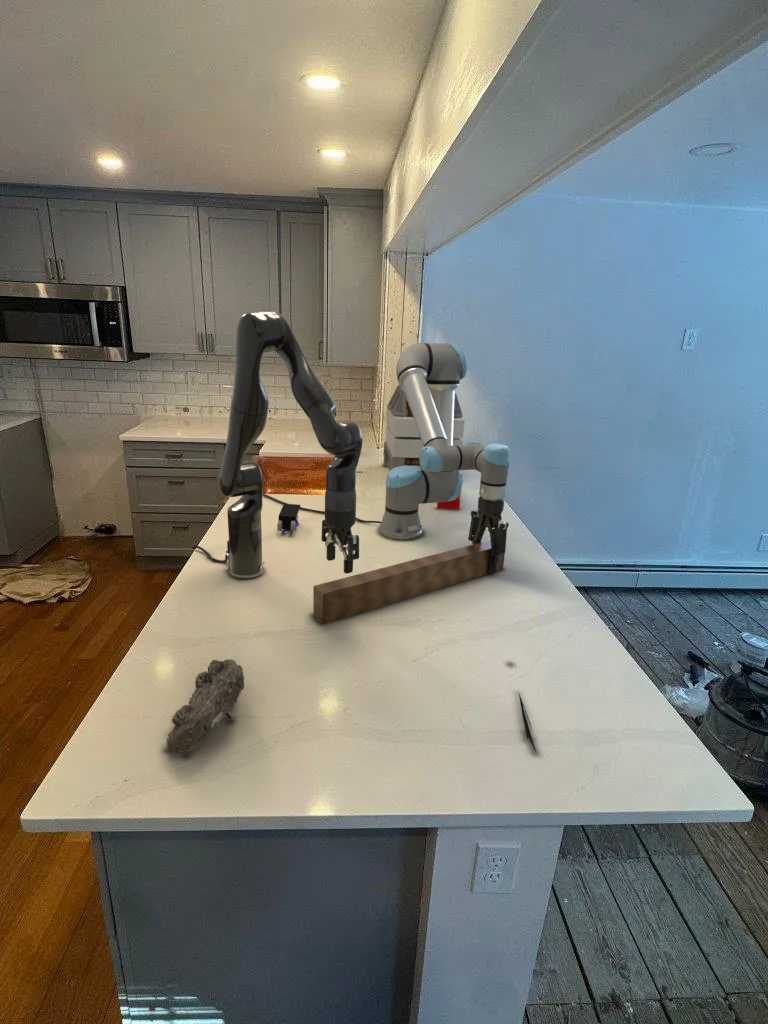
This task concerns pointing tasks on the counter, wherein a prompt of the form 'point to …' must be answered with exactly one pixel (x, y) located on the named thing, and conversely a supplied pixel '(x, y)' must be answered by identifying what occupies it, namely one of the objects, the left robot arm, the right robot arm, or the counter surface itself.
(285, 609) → the counter surface
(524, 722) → the feather
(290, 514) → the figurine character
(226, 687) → the fossil
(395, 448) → the grey wooden crate
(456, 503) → the toy
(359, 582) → the post
